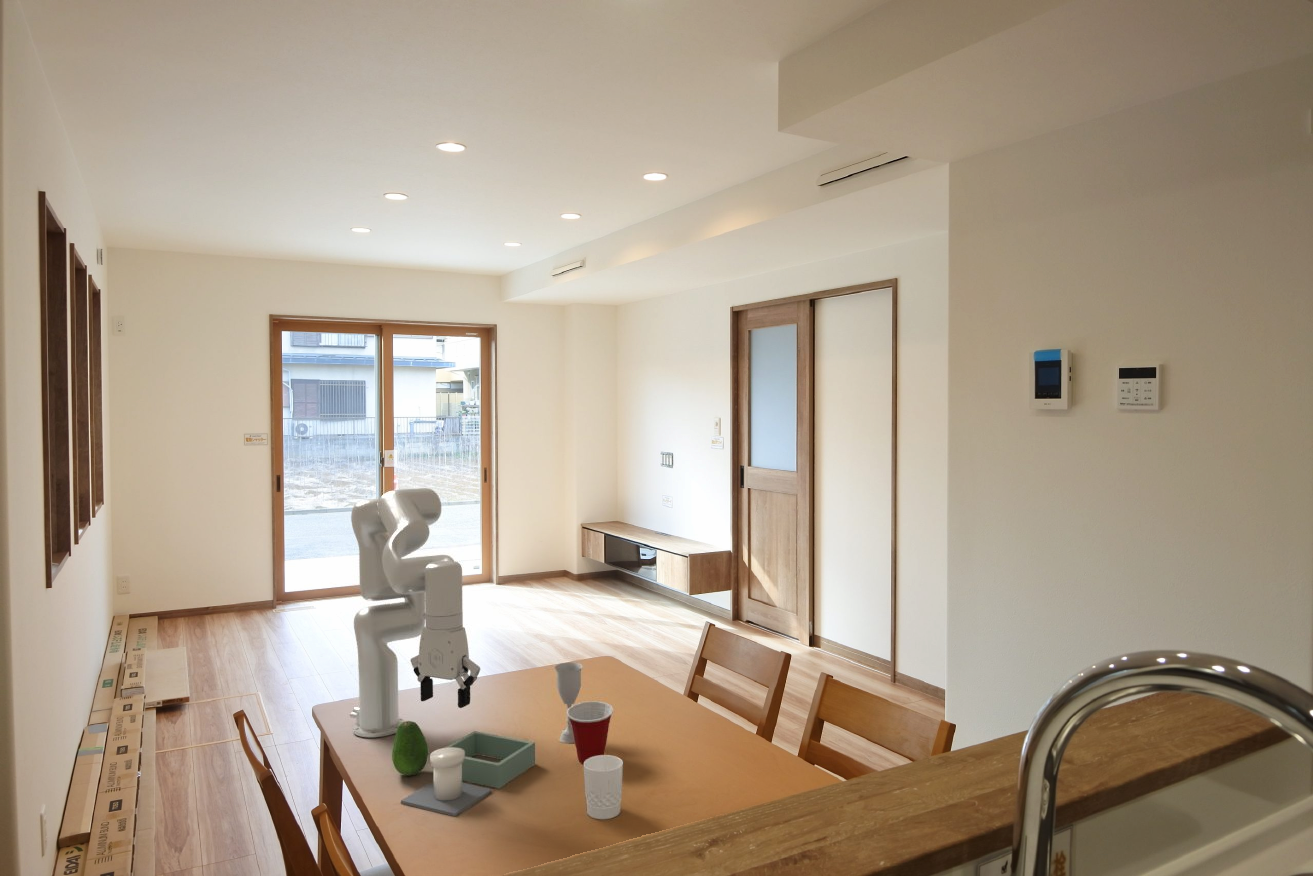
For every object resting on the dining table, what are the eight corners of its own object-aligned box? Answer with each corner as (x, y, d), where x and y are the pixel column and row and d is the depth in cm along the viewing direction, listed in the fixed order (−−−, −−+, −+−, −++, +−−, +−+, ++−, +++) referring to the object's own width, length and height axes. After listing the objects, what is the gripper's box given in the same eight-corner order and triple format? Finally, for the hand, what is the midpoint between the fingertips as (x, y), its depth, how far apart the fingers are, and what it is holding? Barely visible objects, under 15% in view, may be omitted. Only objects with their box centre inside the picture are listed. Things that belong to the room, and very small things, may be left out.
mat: (400, 803, 175) (400, 800, 175) (439, 780, 186) (438, 777, 186) (455, 816, 169) (455, 813, 169) (491, 792, 180) (491, 789, 180)
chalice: (578, 746, 204) (577, 672, 204) (551, 744, 206) (550, 670, 205) (587, 734, 212) (586, 663, 211) (561, 732, 213) (560, 661, 212)
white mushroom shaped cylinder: (423, 798, 176) (423, 756, 176) (445, 785, 182) (445, 745, 182) (450, 804, 173) (449, 762, 172) (472, 791, 179) (471, 750, 179)
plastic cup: (558, 766, 193) (558, 714, 192) (579, 748, 203) (578, 699, 202) (602, 773, 189) (602, 719, 189) (621, 754, 199) (620, 704, 199)
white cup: (584, 803, 174) (583, 755, 174) (622, 802, 175) (622, 754, 174) (584, 822, 166) (583, 771, 166) (624, 820, 167) (623, 770, 167)
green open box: (435, 774, 188) (435, 752, 188) (474, 752, 201) (474, 731, 201) (499, 788, 181) (498, 765, 181) (535, 764, 194) (535, 742, 194)
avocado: (390, 771, 191) (389, 718, 190) (426, 765, 194) (425, 713, 193) (394, 785, 183) (393, 730, 183) (431, 779, 186) (430, 725, 186)
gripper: (399, 621, 176) (400, 702, 177) (466, 629, 169) (467, 714, 170) (423, 613, 183) (424, 691, 184) (489, 621, 176) (490, 703, 176)
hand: (445, 702), depth 177 cm, fingers open, 9 cm apart
